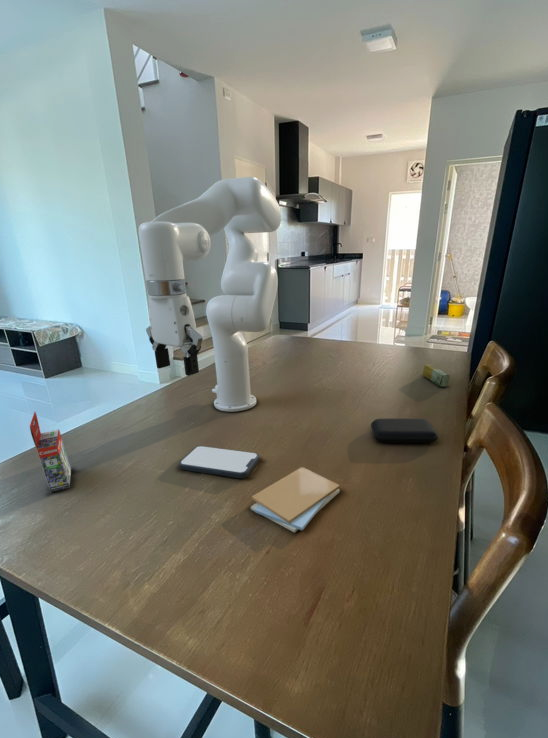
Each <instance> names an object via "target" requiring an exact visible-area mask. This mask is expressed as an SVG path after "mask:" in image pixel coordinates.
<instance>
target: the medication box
mask: <svg viewBox="0 0 548 738" xmlns="http://www.w3.org/2000/svg"><path fill="white" fill-rule="evenodd" d="M421 375H422V376H423V377H425V378H426V379H428V380H429V381H431V382H432V383H433V384H435V385H437V386H439V388H447V387H448V386H449V385H448V384H449V381H450V377H451V375H450V374H448V373H447V372H445V371H444V370H441V369H440V368H438V367H436V366H434V365H433V364H429V363H427V364H426V363H425V364H424V365H423V369H422V372H421Z"/></svg>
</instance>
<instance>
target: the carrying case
mask: <svg viewBox="0 0 548 738" xmlns="http://www.w3.org/2000/svg"><path fill="white" fill-rule="evenodd" d="M370 428H371V431H372V434H373V437H374V439H375V440H376V441H377V442H378V443H383V444H432V443H435V442H436V441H437V440H438V439H439V433H438V432H437V430H436V429H435V428H434V426H433V425H432V423H431V422H430V421H429V420H428V419H426V418H400V417H399V418H397V417H396V418H394V417H393V418H391V417H390V418H388V417H387V418H375V419H374V420H373V421H372V422H371V423H370Z"/></svg>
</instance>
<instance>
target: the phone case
mask: <svg viewBox="0 0 548 738" xmlns="http://www.w3.org/2000/svg"><path fill="white" fill-rule="evenodd" d="M260 458H261V457H260V454H258V453H257V452H250V451H243V450H235V449H227V448H219V447H211V446H204V445H198V446H196V447H194V448H193V449H192V450H191V451H190V452H188V453H187V454H186V455H185V456H184V457H183V458H182V459H181V460H179V462H178V466H179V469H180V470H182V471H183V470H184V471H189V472H196V473H201V474H202V473H203V474H208V475H215V476H222V477H228V478H234V479H235V478H236V479H245V478H247V477H248V476H249V475H250V474H251V472H252V471H253V470H254V468H255V467H256V466H257V465H258V463H259V462H260Z"/></svg>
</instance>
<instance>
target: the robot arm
mask: <svg viewBox="0 0 548 738" xmlns="http://www.w3.org/2000/svg"><path fill="white" fill-rule="evenodd" d="M281 222H282V210H281V208H280V204H279V202H278V201H277V199H276V197H275V196H274V195H273V194H272V192H271V191H270V189H269V188H268V186H267V185H266V184H265V183H264V182H263V181H262V180H260V179H259V178H257V177H254V176H245V177H243V176H242V177H235V178H234V177H233V178H223V179H219V180H217V181H216V182H215V183H213V184H212V185H211V186H210V187H208V188H207V190H206V191H204V192H203V193H202V194H201V195H200V196H199V197H197V198H195V199H193V200H189V201H188V202H185V203H183V204H180V205H178V206H175V207H173V208H171V209H169V210H166V211H164V212H162V213H161V214H159V215H157V216H156V217H155V218H153V219H152V220H151V221H146V222H143V223H141V224H139V226H138V238H139V244H140V251H141V258H142V264H143V271H144V277H145V285H146V290H147V296H148V297H147V298H148V316H149V326H148V327H146V329H145V331H146V334H147V336H148V340H149V342H150V344H151V349H152V350H153V352H154V357H155V362H156V363H155V364H156V368H157V369H159V370H160V369H163V368H166V367H170V366H171V360H170V353H169V348H168V347H167V346H170V347H175V348H179V349H181V351H182V353H183V354H184V356H183V357H182V358H183V366H184V367H183V368H184V374H185V376H187V377H189V376H192V375H195V374H198V373H200V369H199V368H200V367H199V359H198V356H199V354H200V350H201V349H202V343H203V340H204V337H203V336H202V334H200V333H199V332H198V330H197V324H196V319H195V313H194V309H193V306H192V302H191V299H190V296H189V295H187V287H186V278H185V271H184V262H198V261H200V260H201V261H202V260H203V259H205V258H206V257H207V256H208V255H209V253H210V250H211V244H212V243H211V241H212V240H211V237H210V236H214V235H217V234H219V233H220V232H222V231H223V230H224V234H225V237H226V241H227V244H228V252H227V257H226V259H225V260H226V261H225V263H224V268H223V271H222V275H221V279H220V288H221V291H222V292H223V294H221V295H217V296H214V297H212V298H211V299H209V301H208V302H207V304H206V308H205V315H206V319H207V323H208V326H209V330H210V334H211V339H212V345H213V354H214V365H215V375H216V384H215V386H214V388H212V389H211V393H213V394H216V398H215V399H214V400H213V406H214V408H215V409H217V410H218V411H221V412H227V413H234V412H235V413H236V412H244V411H246V410H249V409H252V408H254V406H256V405H257V398H256V396H255V395H254V394H252V393H251V379H250V378H251V377H250V366H249V365H250V363H249V348H248V343H247V341H246V338H245V336H243V334H242V333H243V332H244V333H245V332H247V333H261V332H265V330H267V328H268V327H269V325H270V322H271V319H272V314H273V309H274V306H275V301H276V298H277V297H276V296H277V292H278V285H279V278H278V272H277V270H276V268H275V266H274V265H273V264H271V263H270V262H265V261H258V260H259V251H258V249H257V247H256V246H255V244H254V242H252V241H251V239H250V238H249V237H248V235H247V234H258V233H259V234H261V233H263V234H264V233H273V232H275V231H277V230H278V229H279V227H280V226H281V224H282V223H281ZM188 347H189V348H188Z"/></svg>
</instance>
